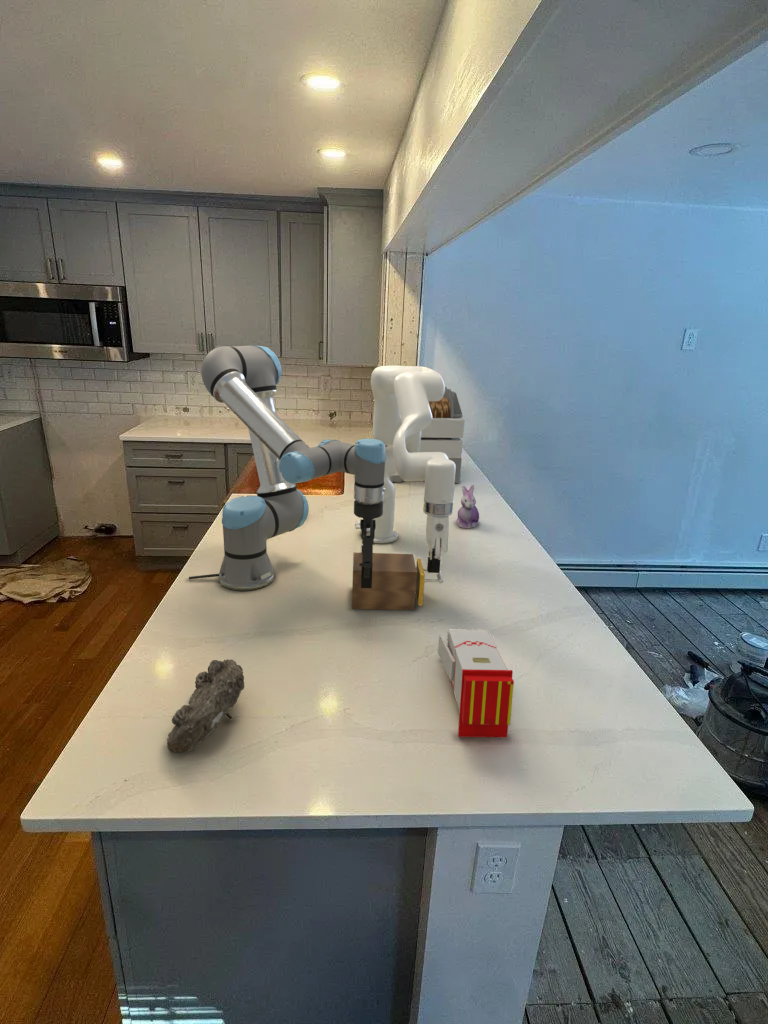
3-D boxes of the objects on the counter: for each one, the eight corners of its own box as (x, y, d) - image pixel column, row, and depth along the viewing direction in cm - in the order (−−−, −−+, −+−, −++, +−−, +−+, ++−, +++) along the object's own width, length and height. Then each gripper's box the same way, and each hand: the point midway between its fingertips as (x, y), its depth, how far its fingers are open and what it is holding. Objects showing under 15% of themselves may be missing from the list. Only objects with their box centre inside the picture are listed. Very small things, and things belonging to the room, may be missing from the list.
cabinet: (410, 590, 160) (413, 553, 157) (414, 610, 150) (416, 571, 146) (352, 588, 160) (353, 552, 156) (351, 608, 149) (352, 570, 145)
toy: (488, 613, 130) (523, 677, 101) (484, 667, 133) (517, 744, 104) (435, 612, 130) (455, 676, 101) (432, 666, 133) (451, 743, 103)
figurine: (465, 530, 205) (468, 491, 200) (449, 521, 213) (452, 483, 208) (486, 527, 209) (490, 488, 204) (469, 518, 218) (473, 480, 213)
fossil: (192, 660, 117) (244, 628, 112) (224, 691, 120) (276, 661, 115) (142, 746, 98) (202, 712, 93) (182, 779, 101) (242, 748, 96)
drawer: (437, 588, 160) (439, 559, 157) (442, 606, 150) (444, 575, 147) (365, 586, 159) (366, 557, 156) (365, 604, 149) (366, 573, 146)
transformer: (382, 463, 289) (386, 382, 275) (445, 464, 293) (451, 384, 279) (390, 482, 257) (394, 392, 243) (460, 483, 261) (468, 394, 247)
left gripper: (385, 516, 134) (381, 598, 141) (381, 486, 156) (378, 558, 164) (353, 516, 133) (351, 598, 141) (354, 485, 156) (352, 558, 163)
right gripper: (457, 516, 139) (451, 584, 145) (448, 498, 153) (443, 560, 159) (426, 516, 139) (422, 583, 145) (420, 497, 153) (416, 560, 159)
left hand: (366, 577), depth 152 cm, fingers closed on cabinet, 11 cm apart
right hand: (433, 571), depth 152 cm, fingers closed
